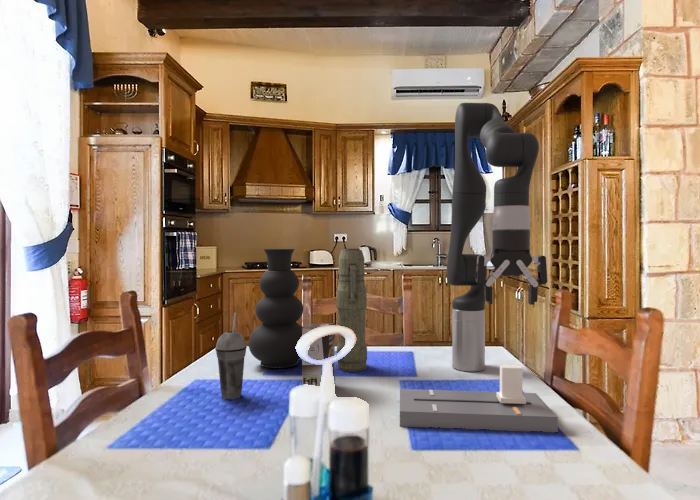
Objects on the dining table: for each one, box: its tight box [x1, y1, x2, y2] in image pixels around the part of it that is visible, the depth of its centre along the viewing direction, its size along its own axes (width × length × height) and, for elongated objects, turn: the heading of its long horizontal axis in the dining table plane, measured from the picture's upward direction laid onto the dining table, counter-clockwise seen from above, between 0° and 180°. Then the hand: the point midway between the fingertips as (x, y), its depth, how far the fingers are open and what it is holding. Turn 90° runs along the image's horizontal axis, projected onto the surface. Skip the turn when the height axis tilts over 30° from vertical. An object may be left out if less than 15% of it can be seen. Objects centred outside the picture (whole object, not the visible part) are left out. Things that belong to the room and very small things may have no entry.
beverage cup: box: [215, 312, 248, 400], centre depth 108 cm, size 7×7×20 cm
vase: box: [248, 248, 305, 369], centre depth 136 cm, size 18×18×35 cm
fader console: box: [399, 388, 559, 433], centre depth 95 cm, size 14×30×3 cm, turn 84°
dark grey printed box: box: [301, 322, 336, 386], centre depth 112 cm, size 9×6×16 cm
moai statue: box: [336, 248, 368, 373], centre depth 132 cm, size 9×12×35 cm
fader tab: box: [495, 364, 526, 404], centre depth 94 cm, size 4×5×7 cm
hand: (510, 304), depth 96 cm, fingers open, 8 cm apart
